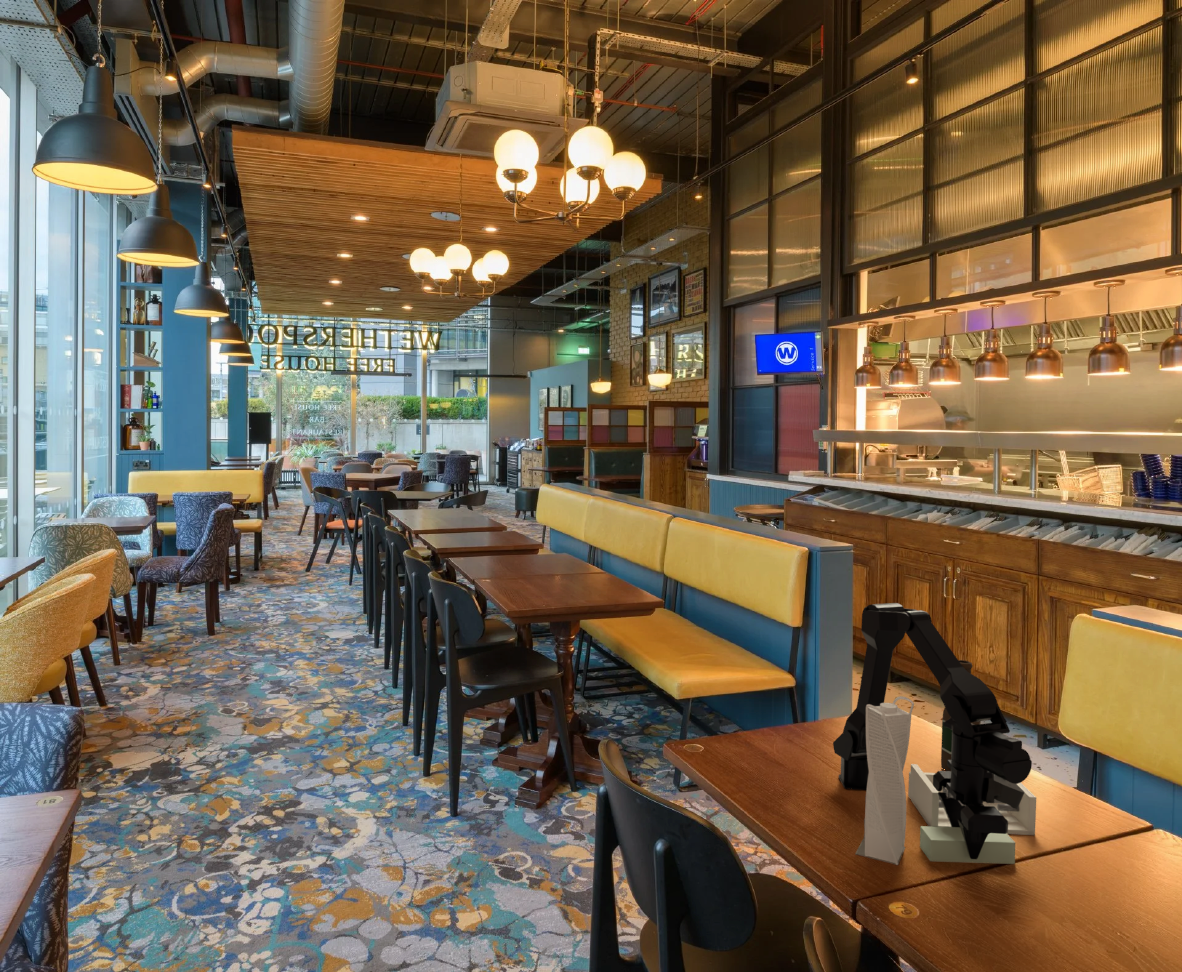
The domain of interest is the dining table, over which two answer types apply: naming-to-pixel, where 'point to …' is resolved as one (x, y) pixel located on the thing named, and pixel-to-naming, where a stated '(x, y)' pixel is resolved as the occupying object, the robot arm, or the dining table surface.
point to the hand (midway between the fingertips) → (966, 848)
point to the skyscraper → (886, 782)
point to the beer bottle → (946, 732)
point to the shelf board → (964, 846)
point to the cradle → (1017, 819)
